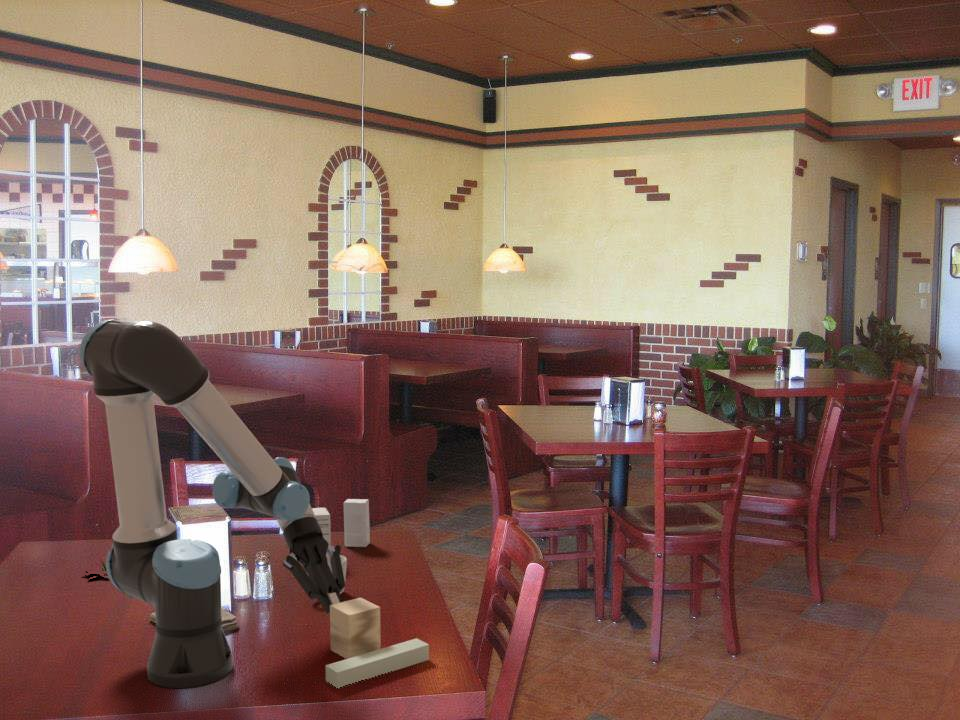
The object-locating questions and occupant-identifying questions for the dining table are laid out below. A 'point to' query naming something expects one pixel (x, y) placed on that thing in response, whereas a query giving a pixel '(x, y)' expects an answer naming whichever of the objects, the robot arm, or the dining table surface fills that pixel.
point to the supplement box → (323, 523)
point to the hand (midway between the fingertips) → (342, 624)
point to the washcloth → (227, 620)
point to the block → (354, 627)
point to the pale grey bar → (377, 662)
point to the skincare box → (356, 523)
